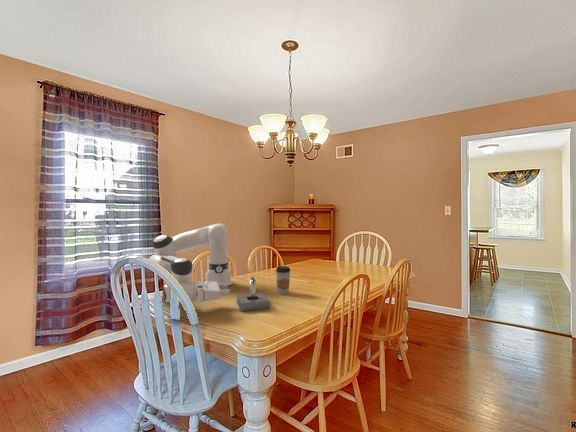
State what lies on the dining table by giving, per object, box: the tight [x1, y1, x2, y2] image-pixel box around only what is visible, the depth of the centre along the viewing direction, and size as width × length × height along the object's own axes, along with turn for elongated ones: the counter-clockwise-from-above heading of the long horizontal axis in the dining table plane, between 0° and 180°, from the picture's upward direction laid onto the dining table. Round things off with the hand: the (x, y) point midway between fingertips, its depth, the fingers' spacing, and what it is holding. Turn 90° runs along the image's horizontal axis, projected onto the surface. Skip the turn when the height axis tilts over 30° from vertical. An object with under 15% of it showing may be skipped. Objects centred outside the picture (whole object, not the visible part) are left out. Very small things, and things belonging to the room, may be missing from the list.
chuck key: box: [249, 276, 257, 300], centre depth 155 cm, size 5×3×14 cm, turn 17°
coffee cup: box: [275, 265, 291, 296], centre depth 178 cm, size 8×8×15 cm
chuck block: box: [236, 293, 271, 313], centre depth 155 cm, size 14×14×4 cm
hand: (228, 288), depth 151 cm, fingers open, 8 cm apart
